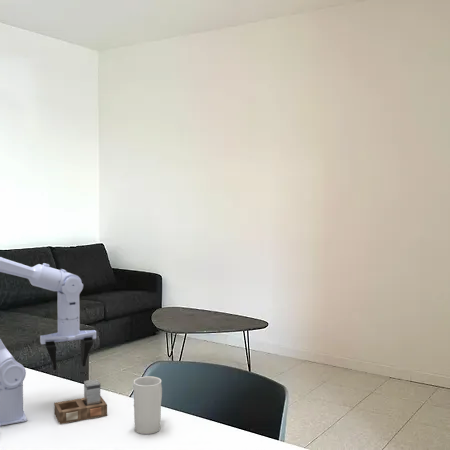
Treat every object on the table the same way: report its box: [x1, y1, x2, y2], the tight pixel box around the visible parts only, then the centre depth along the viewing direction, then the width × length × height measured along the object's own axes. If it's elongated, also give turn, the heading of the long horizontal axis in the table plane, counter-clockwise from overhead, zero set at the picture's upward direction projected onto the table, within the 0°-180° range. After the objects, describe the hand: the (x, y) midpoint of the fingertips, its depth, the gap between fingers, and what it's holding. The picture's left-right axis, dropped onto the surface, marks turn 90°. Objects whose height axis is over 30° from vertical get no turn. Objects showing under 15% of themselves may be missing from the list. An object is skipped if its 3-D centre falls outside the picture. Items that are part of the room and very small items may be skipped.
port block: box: [53, 395, 108, 425], centre depth 146 cm, size 12×7×3 cm, turn 117°
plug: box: [83, 378, 101, 406], centre depth 147 cm, size 3×3×8 cm
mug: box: [133, 376, 163, 435], centre depth 140 cm, size 10×7×12 cm, turn 156°
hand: (69, 367), depth 153 cm, fingers open, 7 cm apart
